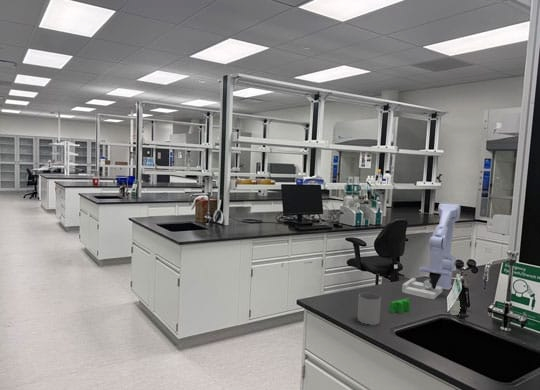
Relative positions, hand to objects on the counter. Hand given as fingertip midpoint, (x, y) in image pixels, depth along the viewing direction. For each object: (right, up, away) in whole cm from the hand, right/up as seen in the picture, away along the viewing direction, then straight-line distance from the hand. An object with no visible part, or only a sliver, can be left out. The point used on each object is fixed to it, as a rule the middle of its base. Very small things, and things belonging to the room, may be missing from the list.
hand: (434, 288), depth 184 cm
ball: (-2, +1, +2) cm, 3 cm away
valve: (+1, -5, -21) cm, 22 cm away
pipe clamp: (-24, -5, -22) cm, 33 cm away
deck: (-4, -3, +5) cm, 7 cm away
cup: (-41, -5, -34) cm, 54 cm away
